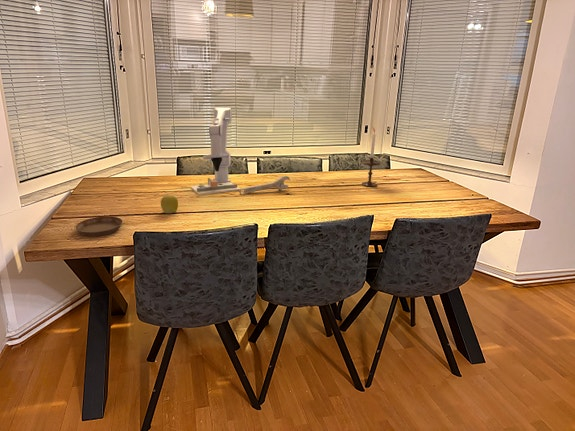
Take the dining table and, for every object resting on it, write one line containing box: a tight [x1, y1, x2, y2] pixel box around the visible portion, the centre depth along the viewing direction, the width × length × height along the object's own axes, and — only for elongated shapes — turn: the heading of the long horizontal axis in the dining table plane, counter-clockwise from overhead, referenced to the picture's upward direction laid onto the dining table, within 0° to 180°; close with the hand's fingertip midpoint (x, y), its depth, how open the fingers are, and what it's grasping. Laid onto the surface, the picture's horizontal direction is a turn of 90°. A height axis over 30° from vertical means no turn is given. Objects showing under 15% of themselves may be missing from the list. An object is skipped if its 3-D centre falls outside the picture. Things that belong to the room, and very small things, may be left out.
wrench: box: [239, 175, 291, 195], centre depth 225 cm, size 8×2×30 cm
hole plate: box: [189, 181, 241, 196], centre depth 228 cm, size 16×24×1 cm, turn 118°
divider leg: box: [207, 177, 218, 188], centre depth 226 cm, size 11×3×4 cm, turn 28°
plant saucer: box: [75, 215, 124, 237], centre depth 165 cm, size 18×18×3 cm
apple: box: [160, 194, 179, 214], centre depth 188 cm, size 8×8×10 cm
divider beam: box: [197, 183, 238, 192], centre depth 228 cm, size 10×23×2 cm, turn 118°
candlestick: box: [361, 126, 382, 188], centre depth 239 cm, size 11×11×35 cm
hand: (216, 170), depth 228 cm, fingers closed
